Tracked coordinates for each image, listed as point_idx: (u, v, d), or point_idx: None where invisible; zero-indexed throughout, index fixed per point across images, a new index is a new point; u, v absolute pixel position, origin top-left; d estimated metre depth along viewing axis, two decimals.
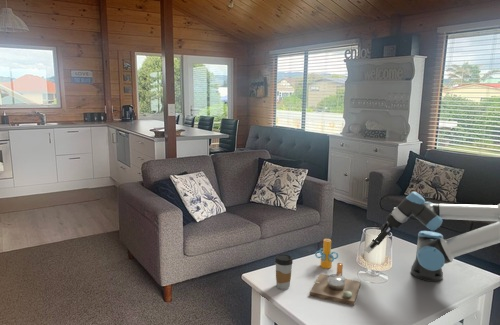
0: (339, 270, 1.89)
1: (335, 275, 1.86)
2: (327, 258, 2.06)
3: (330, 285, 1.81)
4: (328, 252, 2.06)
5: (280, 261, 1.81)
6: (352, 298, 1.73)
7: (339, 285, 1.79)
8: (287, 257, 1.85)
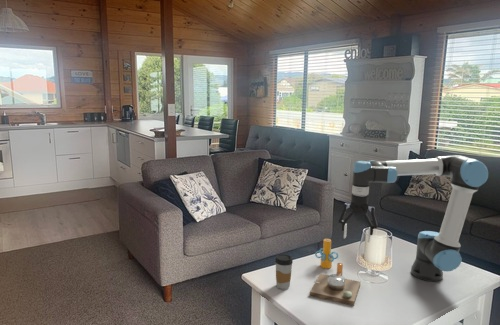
0: (339, 270, 1.89)
1: (335, 275, 1.86)
2: (327, 258, 2.06)
3: (330, 285, 1.81)
4: (328, 252, 2.06)
5: (280, 261, 1.81)
6: (352, 298, 1.73)
7: (339, 285, 1.79)
8: (287, 257, 1.85)
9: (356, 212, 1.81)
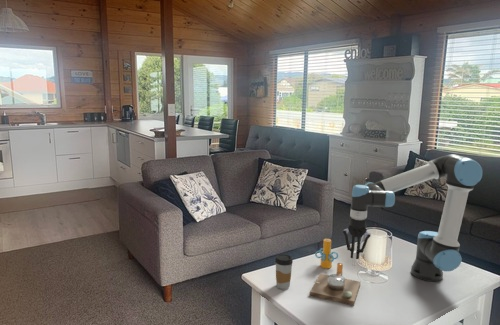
0: (339, 270, 1.89)
1: (335, 275, 1.86)
2: (327, 258, 2.06)
3: (330, 285, 1.81)
4: (328, 252, 2.06)
5: (280, 261, 1.81)
6: (352, 298, 1.73)
7: (339, 285, 1.79)
8: (287, 257, 1.85)
9: None
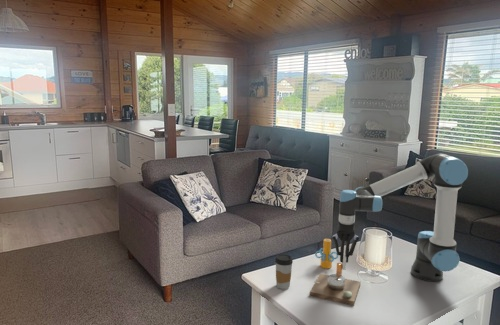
0: (339, 270, 1.89)
1: (335, 275, 1.86)
2: (327, 258, 2.06)
3: (330, 285, 1.81)
4: (328, 252, 2.06)
5: (280, 261, 1.81)
6: (352, 298, 1.73)
7: (339, 285, 1.79)
8: (287, 257, 1.85)
9: None
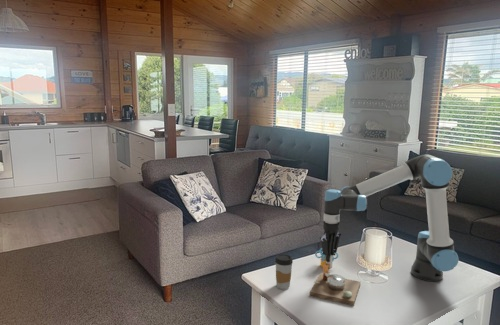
0: (327, 270, 1.89)
1: (331, 276, 1.85)
2: None
3: (337, 286, 1.79)
4: None
5: (280, 261, 1.81)
6: (352, 298, 1.73)
7: (344, 283, 1.81)
8: (287, 257, 1.85)
9: None
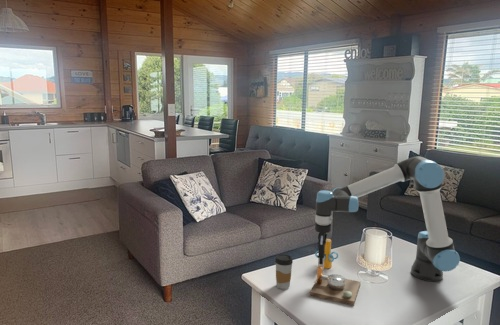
0: (322, 273, 1.85)
1: (330, 277, 1.83)
2: (327, 258, 2.06)
3: (342, 285, 1.80)
4: (328, 252, 2.06)
5: (280, 261, 1.81)
6: (352, 298, 1.73)
7: None
8: (287, 257, 1.85)
9: (324, 240, 1.85)
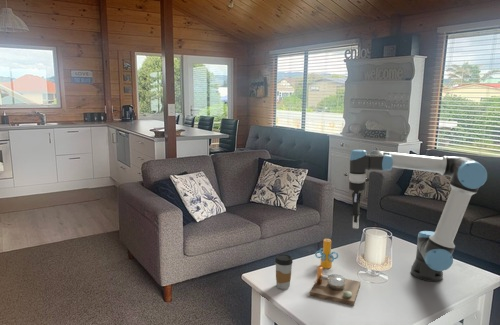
0: (322, 273, 1.85)
1: (330, 277, 1.83)
2: (327, 258, 2.06)
3: (342, 285, 1.80)
4: (328, 252, 2.06)
5: (280, 261, 1.81)
6: (352, 298, 1.73)
7: None
8: (287, 257, 1.85)
9: None
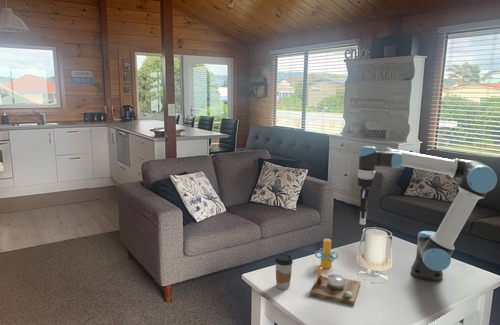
0: (322, 273, 1.85)
1: (330, 277, 1.83)
2: (327, 258, 2.06)
3: (342, 285, 1.80)
4: (328, 252, 2.06)
5: (280, 261, 1.81)
6: (352, 298, 1.73)
7: None
8: (287, 257, 1.85)
9: None
